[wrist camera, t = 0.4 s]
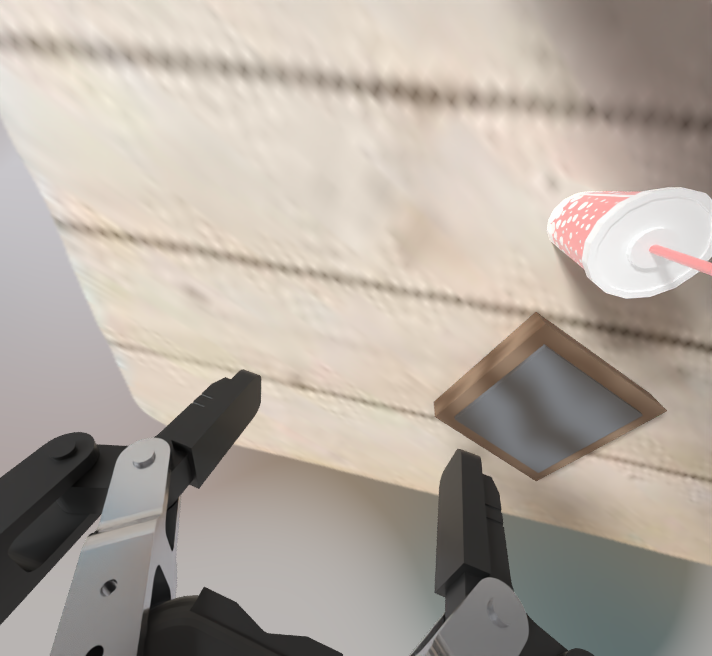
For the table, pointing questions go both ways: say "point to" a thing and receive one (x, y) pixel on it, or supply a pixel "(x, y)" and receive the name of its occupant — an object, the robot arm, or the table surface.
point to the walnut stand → (544, 400)
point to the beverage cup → (636, 238)
